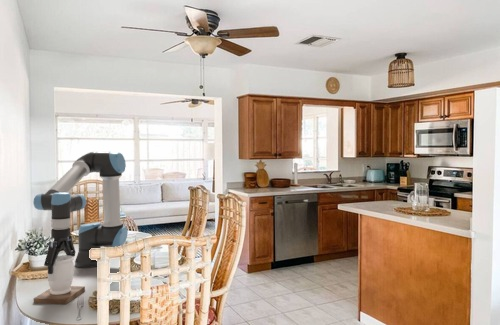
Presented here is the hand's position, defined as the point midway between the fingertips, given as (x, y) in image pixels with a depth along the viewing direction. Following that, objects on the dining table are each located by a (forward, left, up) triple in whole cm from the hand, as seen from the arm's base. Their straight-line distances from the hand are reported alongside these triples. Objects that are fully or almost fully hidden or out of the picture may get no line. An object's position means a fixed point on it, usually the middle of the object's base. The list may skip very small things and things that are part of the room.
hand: (60, 275), depth 166 cm
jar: (0, 0, -7) cm, 7 cm away
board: (0, 0, -9) cm, 9 cm away
